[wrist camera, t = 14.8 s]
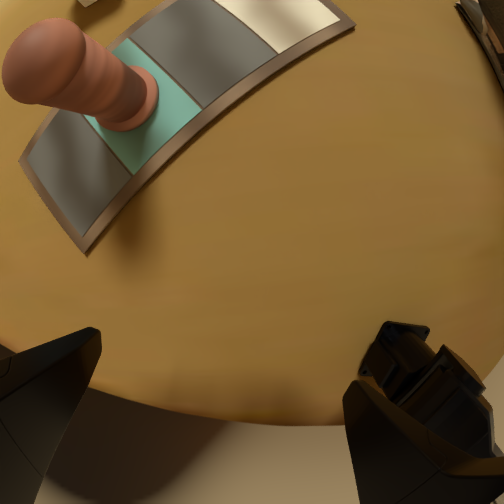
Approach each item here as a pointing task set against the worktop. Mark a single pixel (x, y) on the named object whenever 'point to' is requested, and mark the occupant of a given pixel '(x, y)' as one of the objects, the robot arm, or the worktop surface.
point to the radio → (488, 29)
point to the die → (86, 2)
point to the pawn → (77, 76)
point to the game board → (169, 98)
